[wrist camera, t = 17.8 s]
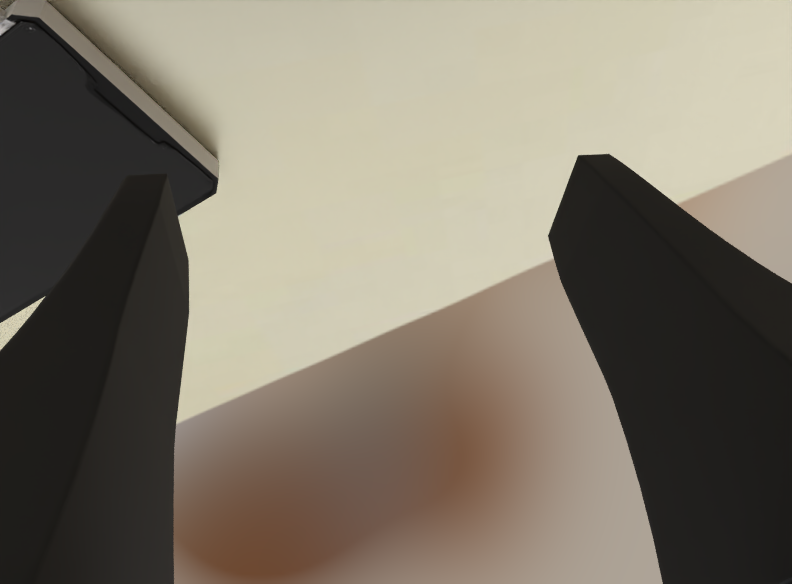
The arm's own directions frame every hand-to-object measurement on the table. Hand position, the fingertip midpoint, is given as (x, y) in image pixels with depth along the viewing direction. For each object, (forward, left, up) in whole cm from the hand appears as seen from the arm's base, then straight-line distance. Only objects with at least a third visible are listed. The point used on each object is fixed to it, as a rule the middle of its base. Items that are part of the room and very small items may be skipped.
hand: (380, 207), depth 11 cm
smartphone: (-8, +12, -11) cm, 18 cm away
